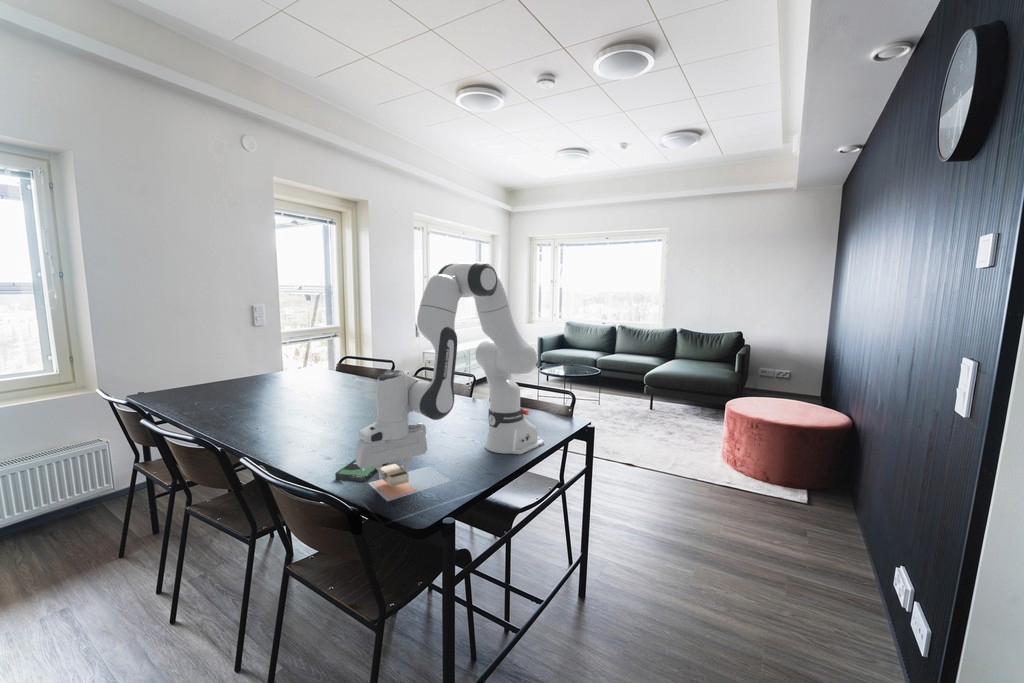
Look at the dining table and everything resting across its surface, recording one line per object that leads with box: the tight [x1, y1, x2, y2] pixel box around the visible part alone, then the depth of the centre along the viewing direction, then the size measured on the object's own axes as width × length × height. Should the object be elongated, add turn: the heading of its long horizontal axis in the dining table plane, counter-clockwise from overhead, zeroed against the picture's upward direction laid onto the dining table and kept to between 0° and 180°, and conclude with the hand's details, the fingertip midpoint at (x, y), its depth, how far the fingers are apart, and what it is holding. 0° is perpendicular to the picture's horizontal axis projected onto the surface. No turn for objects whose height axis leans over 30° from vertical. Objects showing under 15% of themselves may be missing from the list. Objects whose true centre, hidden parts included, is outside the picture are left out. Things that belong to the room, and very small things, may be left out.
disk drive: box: [334, 458, 389, 482], centre depth 134 cm, size 10×3×15 cm
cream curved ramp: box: [380, 463, 409, 487], centre depth 122 cm, size 9×5×3 cm, turn 39°
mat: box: [367, 465, 452, 502], centre depth 126 cm, size 20×14×1 cm
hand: (393, 475), depth 123 cm, fingers closed on cream curved ramp, 5 cm apart
